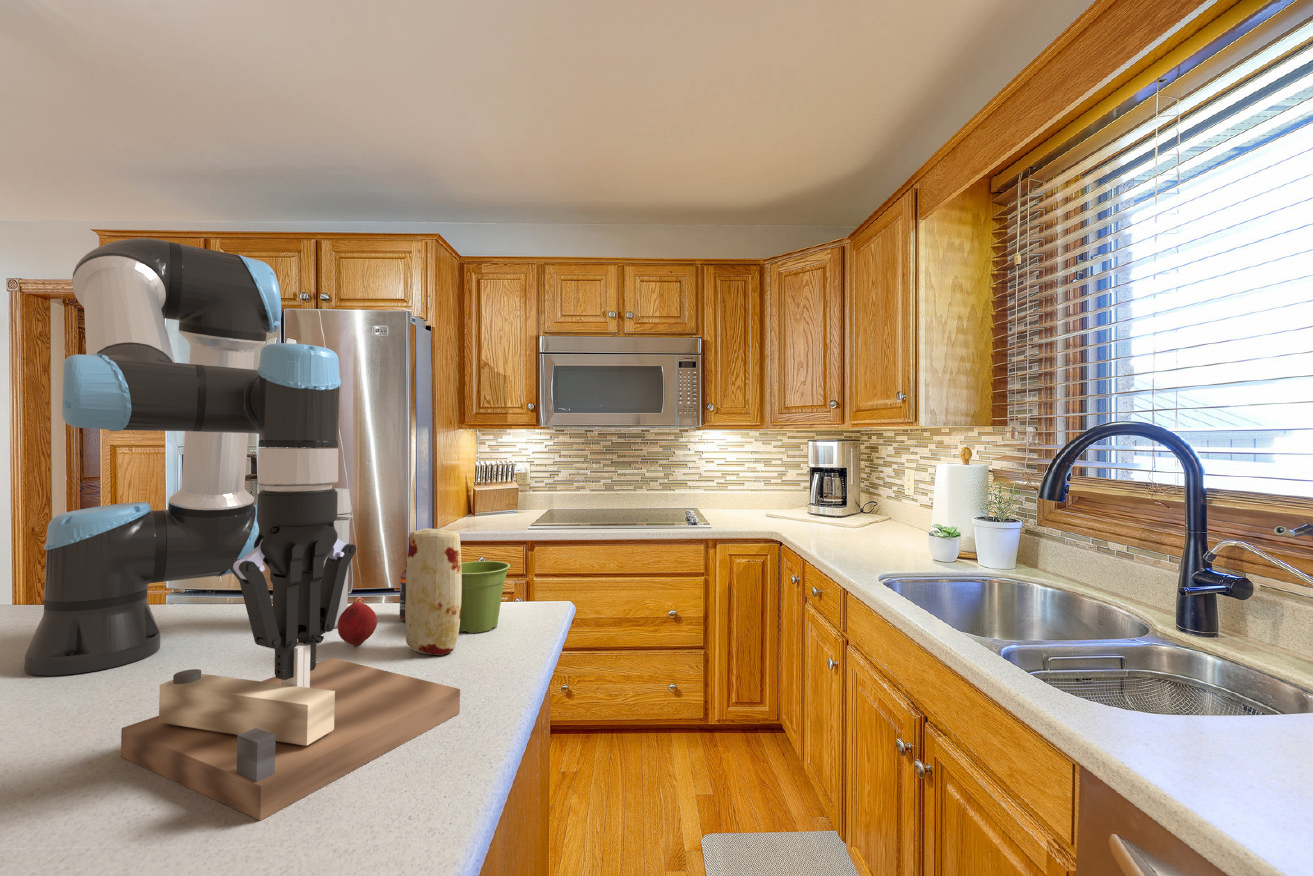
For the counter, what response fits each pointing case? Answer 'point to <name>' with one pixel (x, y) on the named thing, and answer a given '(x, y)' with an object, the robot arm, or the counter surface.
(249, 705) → the folding leg
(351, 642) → the onion
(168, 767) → the brown flat square block
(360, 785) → the counter surface
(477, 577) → the plant pot
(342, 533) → the water bottle
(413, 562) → the food model
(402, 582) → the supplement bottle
